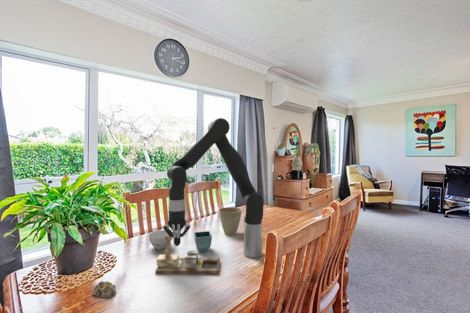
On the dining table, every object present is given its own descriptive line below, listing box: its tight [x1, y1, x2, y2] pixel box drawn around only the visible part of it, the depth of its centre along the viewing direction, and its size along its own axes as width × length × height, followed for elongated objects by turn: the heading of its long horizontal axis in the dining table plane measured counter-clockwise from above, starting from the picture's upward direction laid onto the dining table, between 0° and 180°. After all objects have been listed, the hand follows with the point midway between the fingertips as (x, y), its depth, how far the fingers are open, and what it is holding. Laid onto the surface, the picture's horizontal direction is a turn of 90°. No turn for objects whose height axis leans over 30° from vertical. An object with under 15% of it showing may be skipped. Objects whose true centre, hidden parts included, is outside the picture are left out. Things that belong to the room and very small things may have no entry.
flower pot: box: [193, 230, 213, 253], centre depth 139 cm, size 9×9×9 cm
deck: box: [154, 250, 221, 275], centre depth 119 cm, size 28×13×6 cm, turn 91°
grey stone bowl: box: [148, 229, 174, 251], centre depth 143 cm, size 15×12×8 cm
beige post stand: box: [156, 235, 180, 267], centre depth 119 cm, size 9×5×13 cm, turn 91°
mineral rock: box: [92, 280, 117, 299], centre depth 98 cm, size 11×4×8 cm
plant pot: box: [218, 206, 243, 237], centre depth 166 cm, size 15×15×16 cm
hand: (177, 245), depth 119 cm, fingers closed
